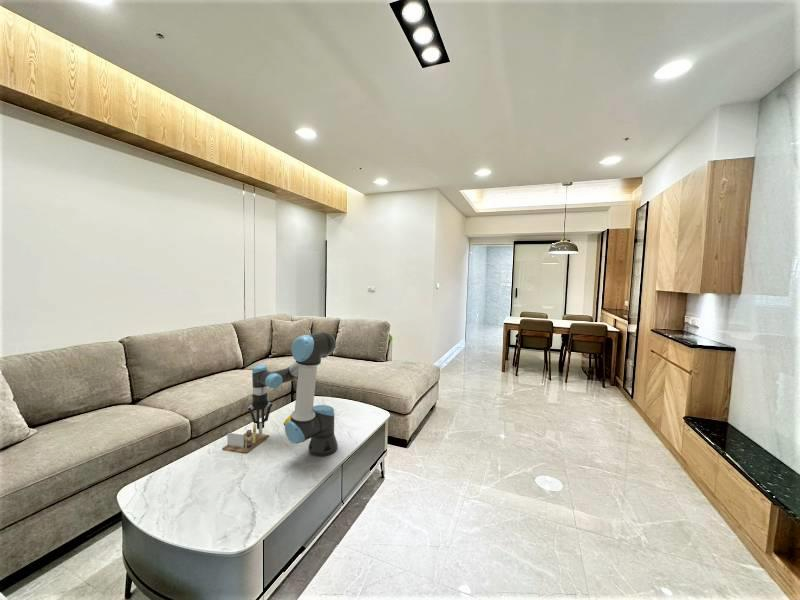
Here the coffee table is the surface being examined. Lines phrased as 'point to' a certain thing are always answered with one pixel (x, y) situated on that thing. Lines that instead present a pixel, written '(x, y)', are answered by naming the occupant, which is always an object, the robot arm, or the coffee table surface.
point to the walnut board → (258, 441)
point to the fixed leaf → (238, 440)
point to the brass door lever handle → (249, 438)
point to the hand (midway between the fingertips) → (260, 433)
